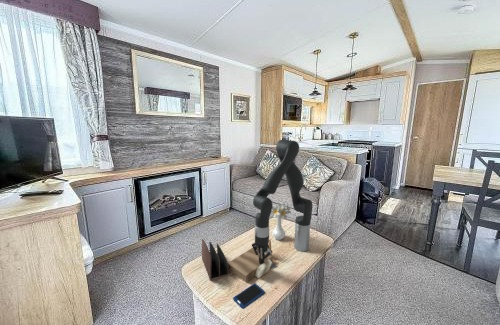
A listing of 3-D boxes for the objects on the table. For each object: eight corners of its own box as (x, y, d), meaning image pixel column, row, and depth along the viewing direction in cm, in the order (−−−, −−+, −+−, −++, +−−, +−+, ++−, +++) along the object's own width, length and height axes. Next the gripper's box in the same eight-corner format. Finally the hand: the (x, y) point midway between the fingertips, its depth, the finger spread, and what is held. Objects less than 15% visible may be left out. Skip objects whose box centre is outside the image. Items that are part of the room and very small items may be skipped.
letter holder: (210, 281, 103) (209, 256, 101) (201, 259, 121) (200, 237, 119) (228, 275, 107) (228, 251, 105) (218, 254, 125) (217, 233, 123)
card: (268, 258, 110) (272, 262, 109) (265, 266, 113) (269, 270, 111) (258, 267, 104) (261, 270, 102) (254, 275, 106) (258, 278, 105)
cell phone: (232, 299, 92) (232, 297, 92) (255, 283, 101) (255, 282, 101) (242, 310, 87) (242, 308, 86) (265, 292, 96) (265, 291, 95)
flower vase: (262, 236, 147) (262, 203, 143) (284, 231, 154) (285, 199, 150) (271, 245, 135) (271, 209, 131) (294, 240, 142) (295, 205, 138)
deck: (254, 252, 127) (254, 246, 127) (272, 262, 118) (272, 256, 117) (227, 269, 112) (227, 263, 111) (245, 282, 102) (245, 275, 101)
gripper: (276, 235, 104) (275, 265, 107) (257, 226, 113) (256, 255, 116) (267, 240, 99) (266, 273, 101) (247, 231, 107) (247, 261, 110)
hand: (261, 263), depth 109 cm, fingers closed
